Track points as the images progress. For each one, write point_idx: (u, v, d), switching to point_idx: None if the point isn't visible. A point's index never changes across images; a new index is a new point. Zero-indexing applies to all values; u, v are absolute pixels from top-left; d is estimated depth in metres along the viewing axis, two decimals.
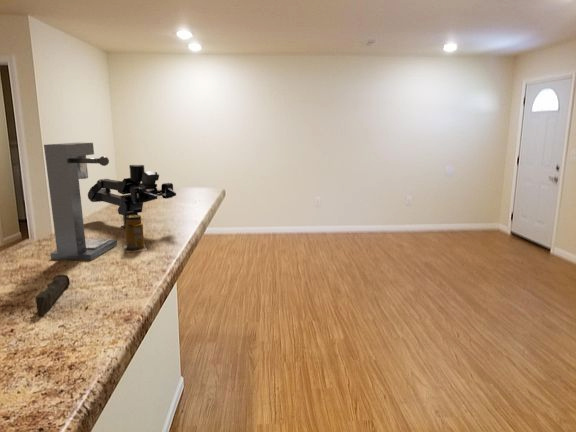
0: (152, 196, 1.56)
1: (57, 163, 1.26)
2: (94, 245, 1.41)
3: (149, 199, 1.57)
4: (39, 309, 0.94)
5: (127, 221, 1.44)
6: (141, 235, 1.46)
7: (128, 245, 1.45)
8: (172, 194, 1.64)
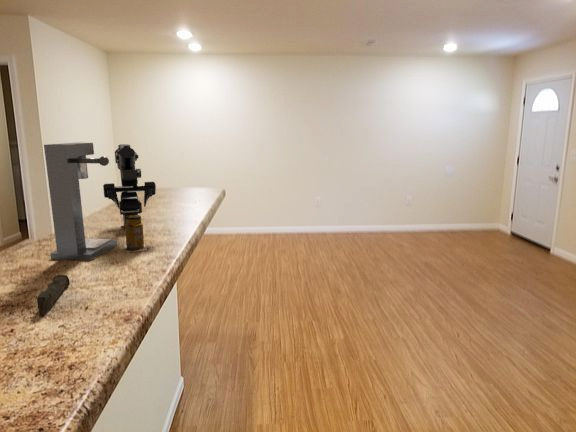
0: (116, 203, 1.50)
1: (57, 163, 1.26)
2: (94, 245, 1.41)
3: (115, 203, 1.52)
4: (40, 309, 0.94)
5: (127, 221, 1.44)
6: (141, 235, 1.46)
7: (128, 245, 1.45)
8: (144, 202, 1.54)
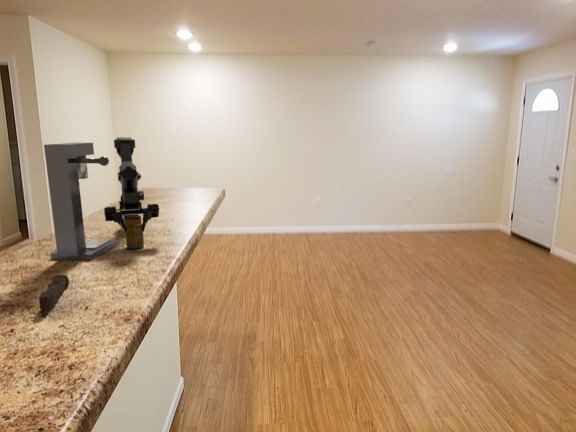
0: (122, 228, 1.44)
1: (57, 163, 1.26)
2: (94, 245, 1.41)
3: (121, 226, 1.45)
4: (43, 309, 0.94)
5: (127, 221, 1.44)
6: (141, 235, 1.46)
7: (128, 245, 1.45)
8: None
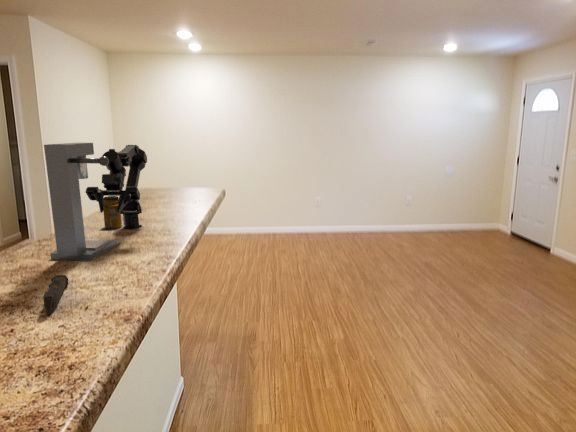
0: None
1: (57, 163, 1.26)
2: (94, 245, 1.41)
3: None
4: (48, 308, 0.95)
5: (104, 201, 1.50)
6: (116, 215, 1.51)
7: (105, 224, 1.51)
8: None
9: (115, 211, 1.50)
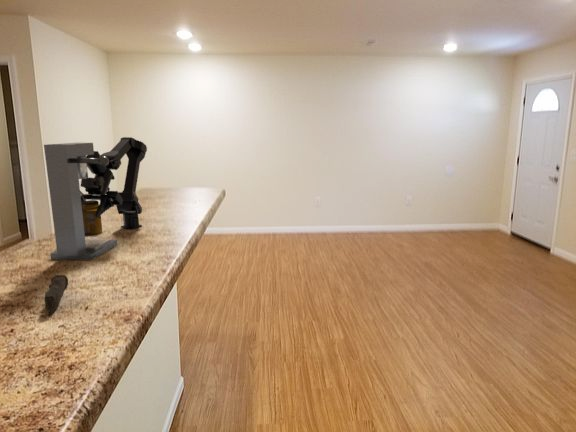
0: None
1: (57, 163, 1.26)
2: (94, 245, 1.41)
3: None
4: (49, 308, 0.95)
5: None
6: (94, 221, 1.44)
7: None
8: None
9: (93, 216, 1.43)
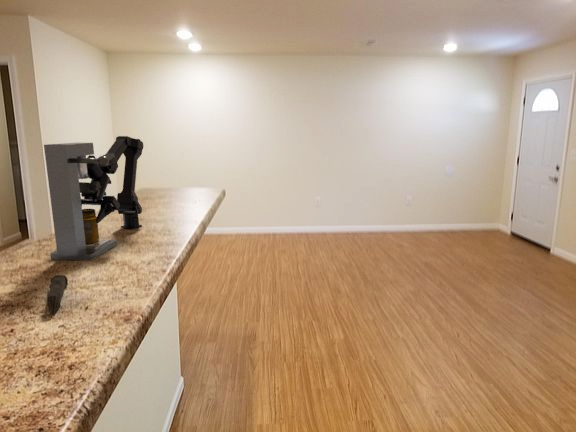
0: None
1: (57, 163, 1.26)
2: (94, 245, 1.41)
3: None
4: (52, 307, 0.95)
5: None
6: (91, 230, 1.42)
7: None
8: None
9: (90, 225, 1.41)
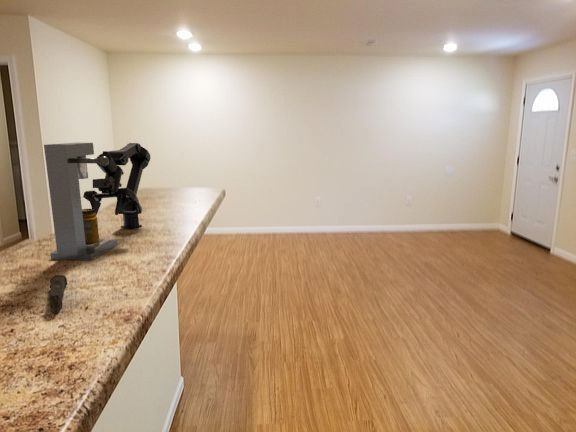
0: None
1: (57, 163, 1.26)
2: (94, 245, 1.41)
3: None
4: (55, 307, 0.95)
5: None
6: (91, 230, 1.42)
7: None
8: None
9: (90, 225, 1.41)
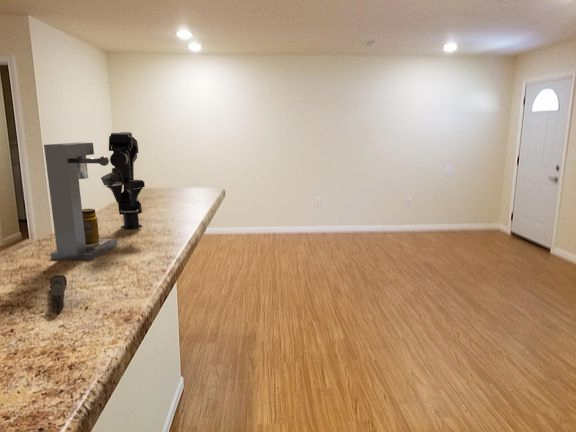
0: None
1: (57, 163, 1.26)
2: (94, 245, 1.41)
3: None
4: (58, 307, 0.95)
5: None
6: (91, 230, 1.42)
7: None
8: None
9: (90, 225, 1.41)
